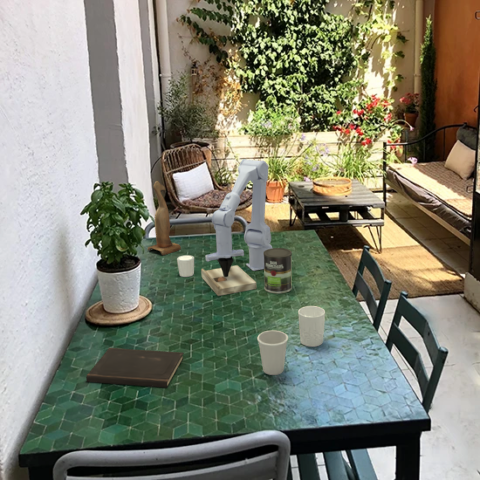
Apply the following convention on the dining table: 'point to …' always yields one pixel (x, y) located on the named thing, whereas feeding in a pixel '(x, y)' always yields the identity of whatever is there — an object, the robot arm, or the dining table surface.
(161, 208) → the bird sculpture
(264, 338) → the dixie cup
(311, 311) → the white cup
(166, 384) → the hardcover book
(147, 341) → the dining table surface
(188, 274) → the white tapered cylinder
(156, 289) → the dining table surface
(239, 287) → the light wood flat tray
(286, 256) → the coffee can
